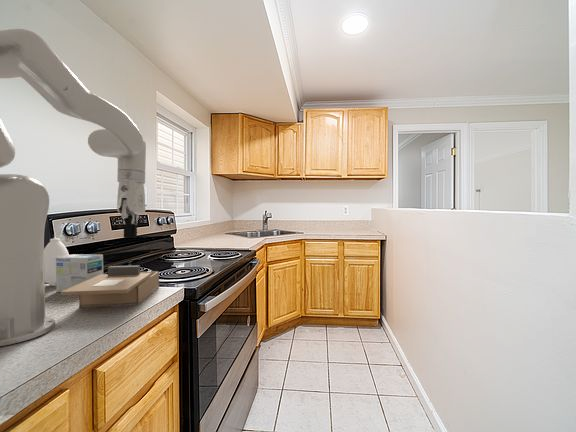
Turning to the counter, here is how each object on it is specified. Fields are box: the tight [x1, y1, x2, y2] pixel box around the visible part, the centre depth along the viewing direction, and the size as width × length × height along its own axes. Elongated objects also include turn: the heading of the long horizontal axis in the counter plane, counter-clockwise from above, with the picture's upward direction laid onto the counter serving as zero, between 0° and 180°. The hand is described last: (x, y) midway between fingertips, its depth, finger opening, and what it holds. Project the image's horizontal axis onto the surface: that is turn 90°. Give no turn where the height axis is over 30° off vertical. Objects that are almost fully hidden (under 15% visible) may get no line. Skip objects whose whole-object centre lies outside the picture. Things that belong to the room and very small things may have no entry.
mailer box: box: [78, 271, 160, 309], centre depth 83 cm, size 18×14×5 cm
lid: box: [60, 265, 152, 296], centre depth 76 cm, size 18×14×3 cm
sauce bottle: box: [44, 230, 70, 287], centre depth 95 cm, size 8×8×18 cm
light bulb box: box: [55, 253, 104, 293], centre depth 90 cm, size 11×7×11 cm, turn 84°
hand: (130, 237), depth 89 cm, fingers closed
